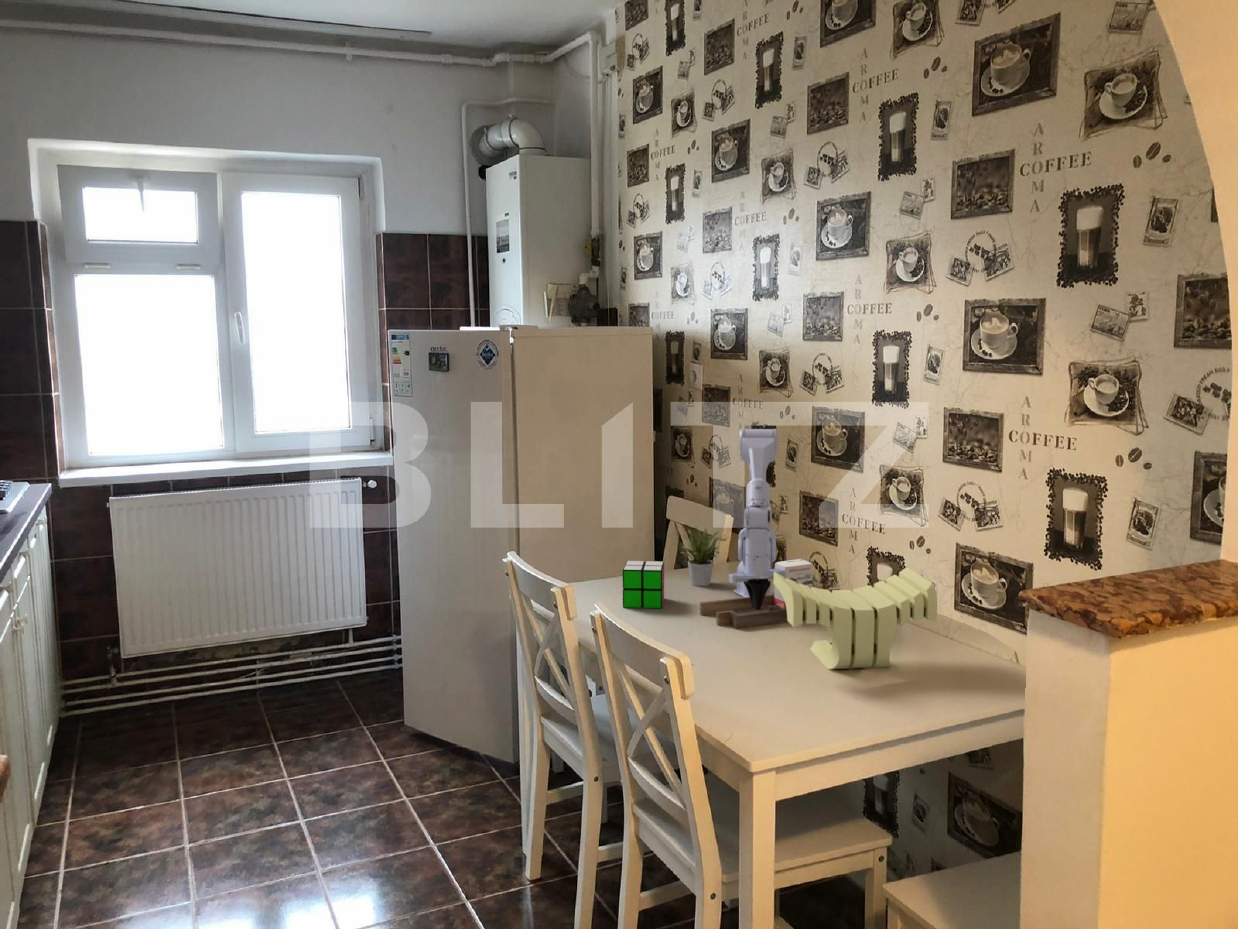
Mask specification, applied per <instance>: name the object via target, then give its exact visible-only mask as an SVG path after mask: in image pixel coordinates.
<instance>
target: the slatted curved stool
mask: <svg viewBox="0 0 1238 929" xmlns="http://www.w3.org/2000/svg"><path fill="white" fill-rule="evenodd" d="M885 581H886V582H885ZM885 581H884V580H880V581H877V582H874V583H873V586H872V585H870V584H869V585H865V586H862V587H858V588H853V589H852V591H851V590H850V589H839V590H838V589H832V590H831V591H830V590H829V589H824V588H818V587H813V586H812V587H811V589H810V588H809V587H808V586H806V585H803V584H800V583H799V585H798V584H797V583H796V582H795V581H792V580H790V579H788V578H786V579H785V578H784V577H783V576H782V575H780V574H778V573H776V572H774V578H773V585H774V587H775V586H776V587H777V589H778V590H779V591H780V593H781V594H782V596H783V598H784V601H785V604H786V609H787V621H788V622H787V623H788V624H790V625H791V626H792V627H793V628H795V627H798V626H801V625H803V622H804V623H806V624H807V625H808V624H817V622H818V624H820V625H821V626H824V627H826V629H827V631H828V634H829V637H830V642H829V641H828V640H825V639H824V640H814V641H813V643H812V645H811V647H810V651H811V652H812V653H813V655H814V656H815V657H816V658H818V660H819V661H820V662H821V663H822V664H823V665H824V667H826V669H827V670H838V669H839V670H841V669H842V670H844V669H845V670H846V669H848V668H849V669H863V668H864V669H865V668H868V669H869V668H889V667H891V665H890V663H891V662H890V657H891V655H890V654H891V648H892V645H893V641H894V639H895V636H896V635H897V634H896V633H897V624H898V625H899V626H903V625H904V624H907V623H909V622H910V621H911V620H912V619H913V620H914V621H916V620H917V621H919V620H920V621H921V620H922V621H923V620H924V619H925V620H927V621H931V622H936V623H937V618H938V597H937V596H938V595H937V591H936V588H935V584H934V583H932V581H931V580H929V579H927V578H926V577H924V576H923V575H921V574H919V573H918V572H916V571H914V570H912V569H911V568H909V567H906V568H904V569H902V570H901V571H899V572H898V575H896V574H893V575H891V576H889V577H887V578H886V580H885Z"/></svg>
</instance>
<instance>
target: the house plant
mask: <svg viewBox="0 0 1238 929" xmlns="http://www.w3.org/2000/svg"><path fill="white" fill-rule="evenodd" d="M694 527H695V529H696V530H697V533H698V536H699V542H698V540H697V538H696V535H695V534H694V533H693V532H692V531H691V530H690V529H686V530H687V532H688V533H689V536H690V541H691V542H690V543H689V544H690V548H691V549H690V548H688V547H686V546H682V545H681V546H680V548H683V549H684V550H685V551H681V552H680V554H684V555H686V556H688V557H690V560H688V561H687V565H688V573H689V579H690V585H692V586H695V587H707V586H710V585H711V579H712V574H713V569H714V563H715V562H714V561H713V560H711V559H710V558H711V557H715V558H717V556H716V554H718V555H720V552H719V551H718V550H719V547H722V546H723V544H720V545H717V546H715V547H713V546H714V545H715V544H716V543H717V541H718V540H719V539H721V538H723V537H727V535H723V534H721V535H718V534H719V533H720V532H723V531H724V529H720V530H718V531H716V532H714V533H713V534H712V535H710V533H708V530H707V528H706V527H705V528H704V530H703V533H702V534H703V536H702V534H701V531H700V530H699V528H698V527H697V526H694ZM677 535H678V536H680V534H678V533H677ZM709 535H710V536H709ZM717 535H718V536H717ZM716 536H717V537H716ZM682 537H683V538H684V536H683V535H681V538H682ZM687 552H688V553H687ZM714 553H716V554H714Z"/></svg>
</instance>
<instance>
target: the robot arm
mask: <svg viewBox="0 0 1238 929" xmlns="http://www.w3.org/2000/svg"><path fill="white" fill-rule="evenodd" d="M778 436H779V432H778V430H777V429H776V428H772V429H771V428H767V429H766V428H743V427H742V428H741V429H740V430H739V456H740V460H741V461H743V462H744V463H746V464H747V465H748V469H749V482H748V483H747V485H746V499H745V500H746V504H745V505H746V506H745V508H744V514H743V515H744V516H743V517H744V518H743V520H744V523H743V524H744V528H742V529H741V530H740V531H739V533H738V542H737V545H738V547H737V559H738V560H739V561H740V562H739V564H738V565H737V568H736V572H734V573H729V574H728V582H729V583H731V584H736V589H733V593H735V594H737V595H739V596H741V597H742V598H743V597H750V599H751V603H752V608H753V609H752V610H756V611H759V610H761V609H762V608H761V606H762V603H763V599H764V597H765V595H769V594H773V593H772V592H771V582H772V581H771V580H772V579H774V572H776V573H778V574H780V575H782V576H783V577H784V578H785V570H782V569H781V570H780V569H775V568H771V567H772V566H771V565H772V563H774V562H775V561H776V560H777V540H776V538H777V535H776V533H775V531H774V530H772V520H773V519H772V517H773V516H772V514H773V513H772V508H771V507H772V506H771V502H770V501H771V500H770V498H771V497H770V496H771V495H770V494H771V493H770V492H771V486H770V483H768V482H767V470H768V467H769V464H770V463H772V462H774V461H776V458H777V453H778V444H779V442H778V441H779V440H778V438H779V437H778ZM768 525H769V526H768Z"/></svg>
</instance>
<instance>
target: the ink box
mask: <svg viewBox="0 0 1238 929" xmlns="http://www.w3.org/2000/svg"><path fill="white" fill-rule="evenodd" d="M774 569H780V570H781V569H782V570H785V579H786V578H788V579H790V580H792V581H795V582H796V583H797V584H798V585H799V583H800V584H803V585H806V586H808V587H809V588H810V589H811V587H813V578H814V577H813V576H814V575H813V573H814V572H813V571H814V563H812V562H810V561H808V560H805V559H803V558H797V559H789V560H783V561H777V562H775V563H774ZM773 592H774V593H773V594H774V597H775V598H774V605H779V607H780V608H782V609H786V604H785V601H784V598H783V596H782V594H781V593H780V591H779V590H778V589H777V587H776V586H775V585H774V591H773Z"/></svg>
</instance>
